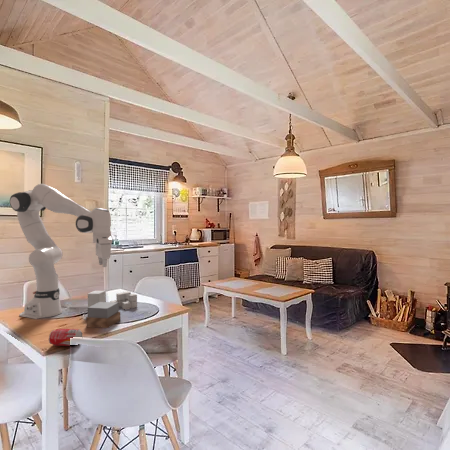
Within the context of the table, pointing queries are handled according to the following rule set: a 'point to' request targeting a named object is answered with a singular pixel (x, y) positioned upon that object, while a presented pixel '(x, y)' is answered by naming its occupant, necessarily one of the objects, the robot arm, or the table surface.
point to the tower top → (103, 309)
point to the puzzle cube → (126, 300)
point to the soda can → (63, 336)
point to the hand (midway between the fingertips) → (102, 265)
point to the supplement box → (96, 297)
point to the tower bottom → (103, 321)
